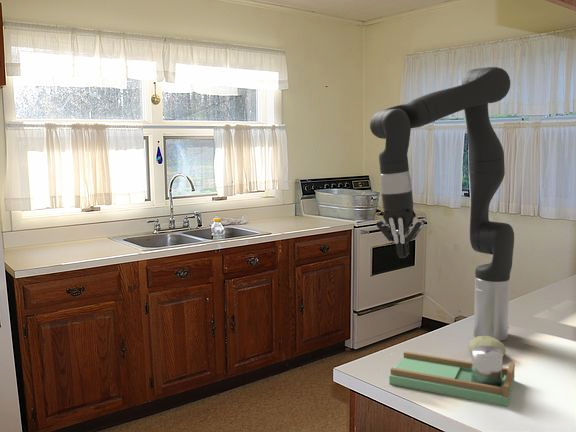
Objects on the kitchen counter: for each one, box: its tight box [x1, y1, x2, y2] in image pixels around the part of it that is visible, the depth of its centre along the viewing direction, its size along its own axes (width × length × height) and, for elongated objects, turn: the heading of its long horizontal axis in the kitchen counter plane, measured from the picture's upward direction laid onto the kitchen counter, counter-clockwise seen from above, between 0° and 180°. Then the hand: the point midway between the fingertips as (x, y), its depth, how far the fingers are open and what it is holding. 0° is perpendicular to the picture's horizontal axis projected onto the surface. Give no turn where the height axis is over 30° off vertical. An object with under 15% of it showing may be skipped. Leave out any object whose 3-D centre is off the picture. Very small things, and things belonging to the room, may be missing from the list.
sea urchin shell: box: [468, 336, 507, 357], centre depth 144 cm, size 9×8×8 cm
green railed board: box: [388, 351, 516, 407], centre depth 129 cm, size 14×26×4 cm, turn 62°
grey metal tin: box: [471, 346, 504, 387], centre depth 125 cm, size 7×7×8 cm
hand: (403, 257), depth 140 cm, fingers closed
